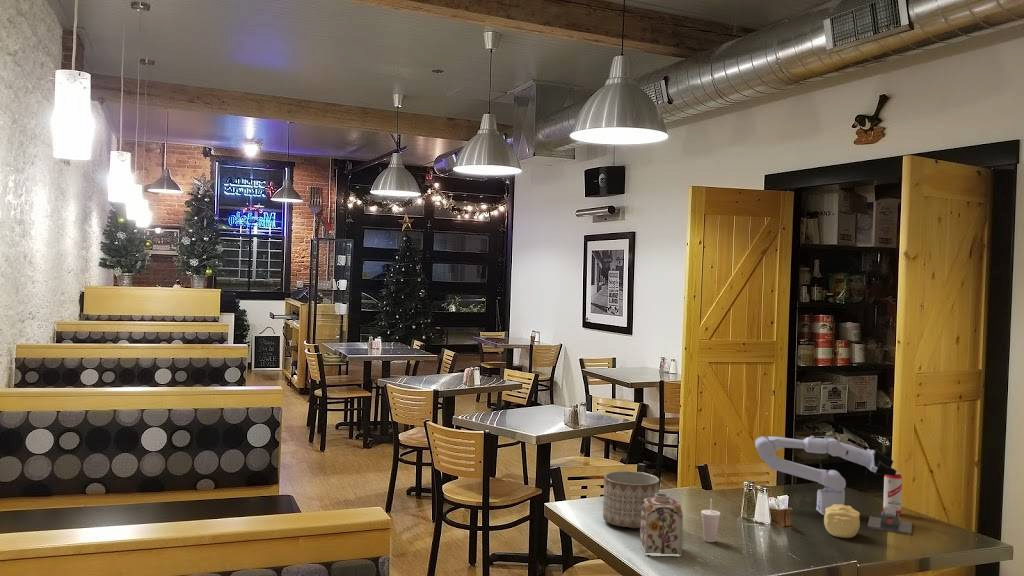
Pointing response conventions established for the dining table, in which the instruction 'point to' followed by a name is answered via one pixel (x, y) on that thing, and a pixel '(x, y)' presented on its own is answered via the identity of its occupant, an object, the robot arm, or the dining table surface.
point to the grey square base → (889, 524)
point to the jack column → (890, 510)
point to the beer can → (893, 491)
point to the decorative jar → (661, 525)
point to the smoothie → (710, 523)
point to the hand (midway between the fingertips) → (893, 468)
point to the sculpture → (842, 521)
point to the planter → (627, 496)
